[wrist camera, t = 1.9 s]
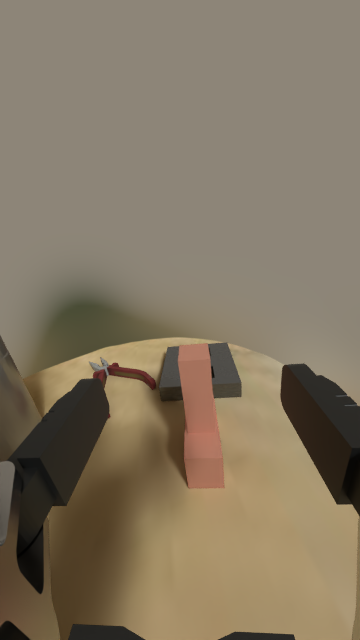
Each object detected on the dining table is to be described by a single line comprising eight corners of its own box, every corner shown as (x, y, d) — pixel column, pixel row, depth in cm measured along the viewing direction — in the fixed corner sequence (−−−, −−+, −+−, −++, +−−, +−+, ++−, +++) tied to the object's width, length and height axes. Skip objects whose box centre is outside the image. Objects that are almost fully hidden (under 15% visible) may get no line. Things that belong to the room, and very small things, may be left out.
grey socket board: (161, 400, 35) (158, 387, 34) (169, 357, 48) (167, 347, 47) (241, 396, 34) (241, 382, 33) (227, 353, 47) (227, 342, 46)
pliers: (117, 354, 54) (114, 346, 53) (159, 388, 39) (157, 377, 38) (72, 375, 47) (68, 365, 46) (103, 425, 33) (99, 413, 32)
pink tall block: (188, 488, 22) (171, 380, 17) (189, 421, 31) (177, 334, 25) (224, 487, 22) (218, 377, 17) (215, 419, 30) (209, 331, 25)
